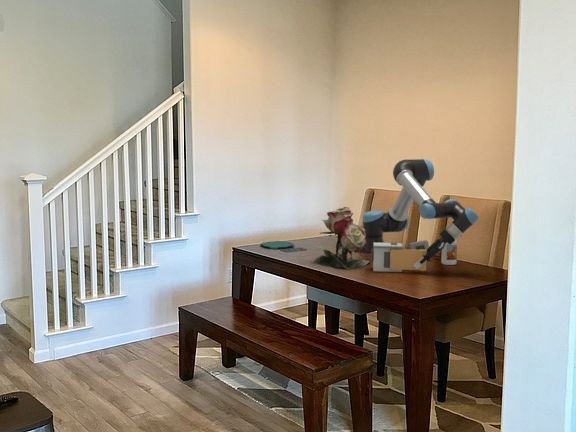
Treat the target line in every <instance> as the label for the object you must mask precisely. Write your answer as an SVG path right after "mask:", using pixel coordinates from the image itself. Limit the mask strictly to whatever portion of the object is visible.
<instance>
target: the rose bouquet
mask: <svg viewBox="0 0 576 432" xmlns="http://www.w3.org/2000/svg"><path fill="white" fill-rule="evenodd" d="M353 215H354V212H352V210H351V209H350V207H347V206H344V207H339V208H338V209H337V208H336V210H333V211H328V212H326V216H327V219H322V222H323V223H324V225H325V226H326V228H327V229H328V230H329V231H323V232H322V231H321V232H319V234H320V235H321V234H325V235H328V237H332V236H333V235H335V236H336V237H337V242H336V244H335V253H333V252H331V251H330V250H328V249H326V248H325V249H322V251H323V254H322V255H320V256H318V257H316V258H315V260H314V261H313V263H314V264H315V265H320V266H326V267H334V268H339V269H346V270H349V269H355V268H356V267H365V266H366V265H367V264H369V263H371V262H370V260H365V259H362V260H355V259H353V254H352V253H353V252H354V253H355V254H356V253H358V254H359V257H363V256H364V255H363V254H366V253H368V252H367V249H365V248H366V247H364V245H365V244H367V242H366V240H365V237H366V233H365V229H364V228H363V225H359V224H356V223H354V220H353V218H352V216H353ZM339 250H341V253H339ZM348 254H350V257H349V258H348Z"/></svg>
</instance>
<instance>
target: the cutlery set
mask: <svg viewBox="0 0 576 432" xmlns="http://www.w3.org/2000/svg"><path fill="white" fill-rule="evenodd" d="M295 245H296V244H295V243H293V242H290V241H284V240H275V241H265V242H264V241H263V242H262V243H261V244H260V247H264V248H270V249H272V250H277V249H280V250H279V252H285V253H294V252H303V251H307V248H306V247H305V248H304V247H296V246H295ZM290 249H291V250H290Z"/></svg>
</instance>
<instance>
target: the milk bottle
mask: <svg viewBox="0 0 576 432" xmlns="http://www.w3.org/2000/svg"><path fill="white" fill-rule="evenodd" d="M447 226H448V225H447ZM447 226H445V228H446V227H447ZM457 252H458V241H457V239H456V238H455V241H454V242H453V243H452V244H451V245H450V244H448V243H446V244H445V246H444V248H443V249H442V250H441V261H440V263H441V265H446V266H450V265H451V266H455V265H457V259H458V258H457V257H458V255H457V254H458V253H457Z"/></svg>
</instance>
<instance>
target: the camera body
mask: <svg viewBox="0 0 576 432" xmlns="http://www.w3.org/2000/svg"><path fill="white" fill-rule="evenodd" d="M390 249H404V247H403V244H402V242H397V241H391V242H384V243H374V246H373V249H372V251H371V254H370V256H371V258H370V260H371V262H372V271H373V272H386V273H387V272H388V273H389V272H393V273H402V272H403V270H396V269H390Z"/></svg>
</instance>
